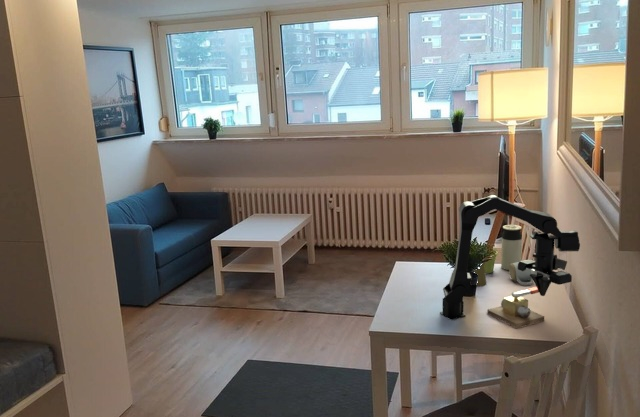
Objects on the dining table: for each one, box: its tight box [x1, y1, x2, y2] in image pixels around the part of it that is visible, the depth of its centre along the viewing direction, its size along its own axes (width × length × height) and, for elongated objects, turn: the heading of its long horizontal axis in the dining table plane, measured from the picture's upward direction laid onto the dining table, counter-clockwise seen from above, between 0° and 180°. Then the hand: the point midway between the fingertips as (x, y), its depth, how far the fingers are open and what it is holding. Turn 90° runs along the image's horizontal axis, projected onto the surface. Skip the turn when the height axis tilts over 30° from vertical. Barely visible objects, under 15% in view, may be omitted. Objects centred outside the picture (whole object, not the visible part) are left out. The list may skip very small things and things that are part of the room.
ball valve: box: [500, 295, 531, 318], centre depth 197 cm, size 6×10×6 cm, turn 25°
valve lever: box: [511, 286, 540, 298], centre depth 198 cm, size 12×3×1 cm, turn 115°
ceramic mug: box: [508, 262, 534, 286], centre depth 231 cm, size 11×8×8 cm
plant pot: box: [484, 249, 498, 274], centre depth 244 cm, size 9×9×9 cm
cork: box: [474, 262, 487, 287], centre depth 230 cm, size 6×6×11 cm
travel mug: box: [500, 224, 523, 271], centre depth 246 cm, size 8×8×18 cm
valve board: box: [486, 305, 545, 329], centre depth 198 cm, size 12×14×2 cm
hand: (542, 295), depth 197 cm, fingers closed
